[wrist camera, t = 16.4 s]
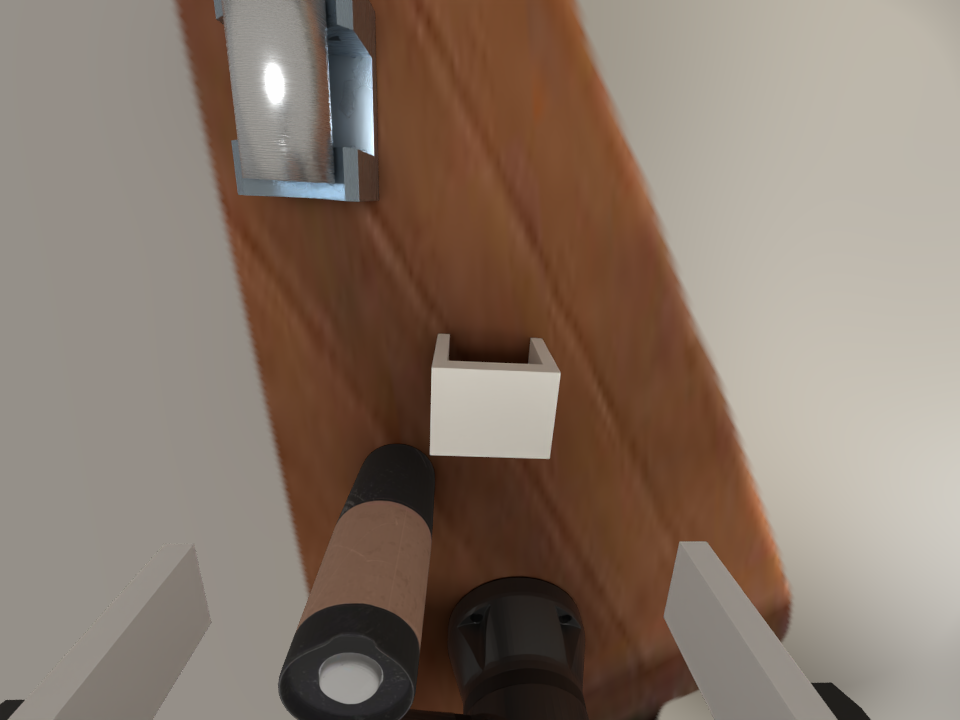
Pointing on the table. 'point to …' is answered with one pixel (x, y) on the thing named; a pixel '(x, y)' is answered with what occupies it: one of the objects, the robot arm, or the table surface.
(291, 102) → the axle
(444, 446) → the u shaped block
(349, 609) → the travel mug
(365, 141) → the v block
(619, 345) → the table surface
